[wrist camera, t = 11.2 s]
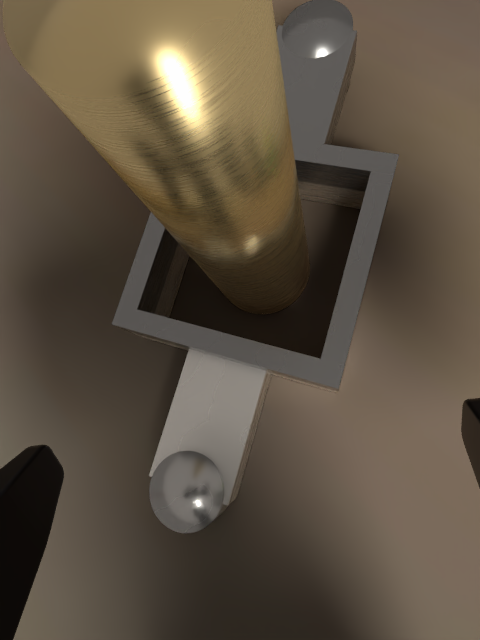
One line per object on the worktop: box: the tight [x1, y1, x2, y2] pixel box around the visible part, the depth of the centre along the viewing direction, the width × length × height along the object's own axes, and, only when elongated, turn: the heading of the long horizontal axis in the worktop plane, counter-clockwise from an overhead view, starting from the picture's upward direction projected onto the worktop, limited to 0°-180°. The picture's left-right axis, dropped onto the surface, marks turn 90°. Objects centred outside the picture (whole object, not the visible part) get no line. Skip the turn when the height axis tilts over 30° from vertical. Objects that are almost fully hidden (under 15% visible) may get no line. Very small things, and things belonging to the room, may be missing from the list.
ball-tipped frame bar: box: [112, 0, 399, 533], centre depth 17 cm, size 21×9×3 cm, turn 163°
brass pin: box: [3, 0, 310, 314], centre depth 12 cm, size 4×4×13 cm
